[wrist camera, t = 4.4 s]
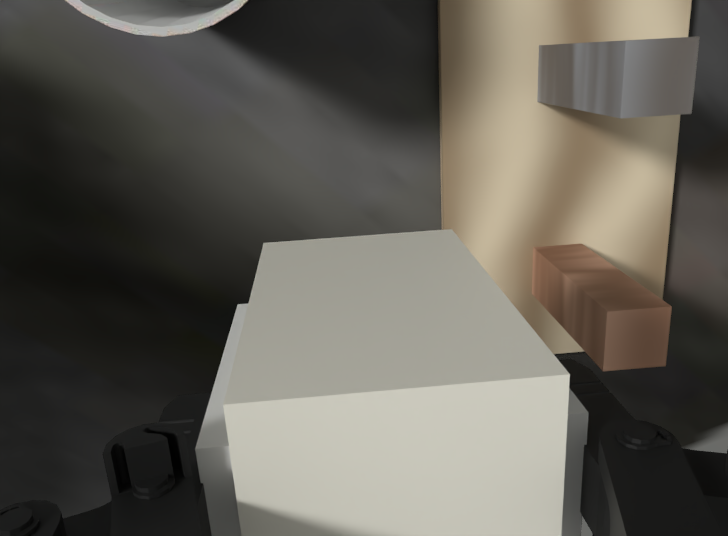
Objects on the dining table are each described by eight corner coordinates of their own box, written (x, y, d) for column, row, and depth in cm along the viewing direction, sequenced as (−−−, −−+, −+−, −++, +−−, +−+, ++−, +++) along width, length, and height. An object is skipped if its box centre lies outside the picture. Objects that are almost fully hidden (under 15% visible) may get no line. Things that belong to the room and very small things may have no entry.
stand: (444, 358, 36) (487, 460, 27) (437, -34, 30) (491, -74, 21) (652, 340, 37) (764, 434, 28) (689, -47, 30) (849, -91, 21)
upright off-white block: (281, 410, 19) (260, 670, 11) (263, 243, 18) (223, 404, 9) (453, 394, 20) (555, 637, 11) (451, 229, 18) (569, 374, 10)
